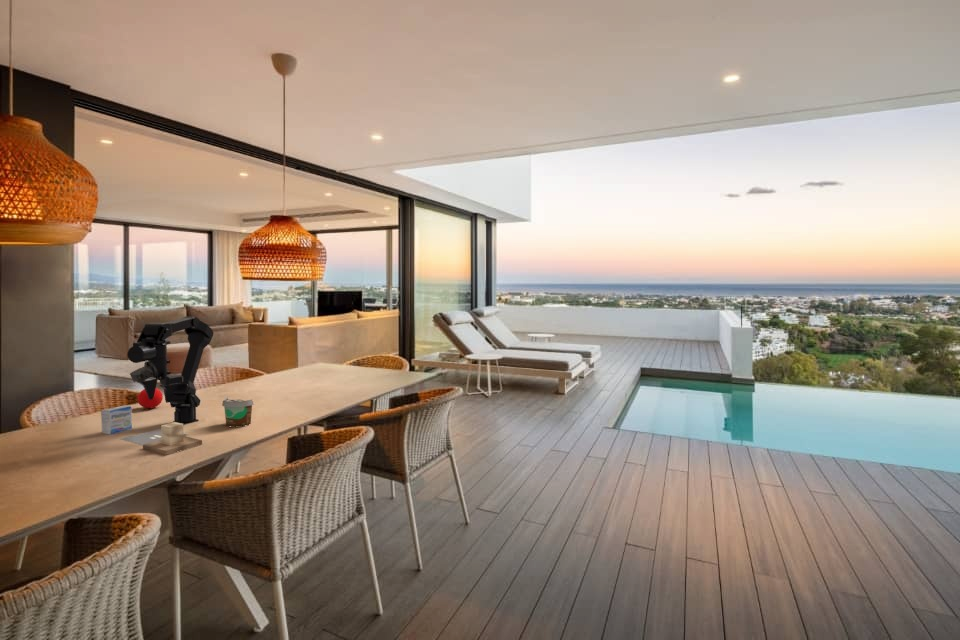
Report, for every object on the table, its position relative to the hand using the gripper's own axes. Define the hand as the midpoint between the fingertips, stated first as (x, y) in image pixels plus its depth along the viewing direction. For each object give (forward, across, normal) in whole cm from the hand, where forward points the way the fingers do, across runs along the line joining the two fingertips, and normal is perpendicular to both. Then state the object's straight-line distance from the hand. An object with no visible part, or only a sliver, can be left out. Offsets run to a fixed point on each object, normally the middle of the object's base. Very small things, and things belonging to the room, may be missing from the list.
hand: (159, 400), depth 173 cm
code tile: (+12, +4, -4) cm, 13 cm away
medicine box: (+12, -16, -6) cm, 20 cm away
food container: (+12, +15, +18) cm, 27 cm away
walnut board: (+12, +18, -8) cm, 23 cm away
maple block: (+10, +18, -8) cm, 22 cm away
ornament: (+13, -38, +20) cm, 45 cm away
